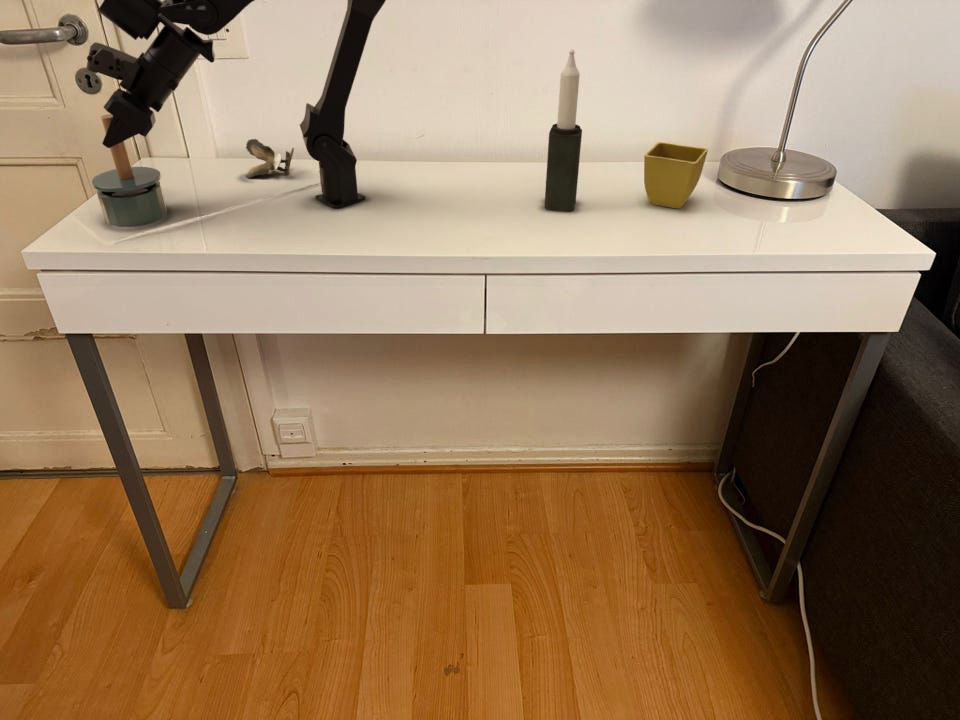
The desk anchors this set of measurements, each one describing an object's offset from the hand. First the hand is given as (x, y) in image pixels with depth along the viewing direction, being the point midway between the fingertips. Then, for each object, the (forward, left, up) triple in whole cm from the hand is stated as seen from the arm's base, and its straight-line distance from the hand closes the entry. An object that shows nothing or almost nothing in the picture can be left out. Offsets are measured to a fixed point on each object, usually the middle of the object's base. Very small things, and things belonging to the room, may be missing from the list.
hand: (107, 143), depth 106 cm
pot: (-1, -1, -12) cm, 12 cm away
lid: (-1, -1, -6) cm, 6 cm away
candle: (-44, -56, -12) cm, 73 cm away
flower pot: (-56, -71, -12) cm, 92 cm away
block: (-1, -1, -12) cm, 12 cm away
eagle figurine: (+3, -27, -12) cm, 30 cm away
